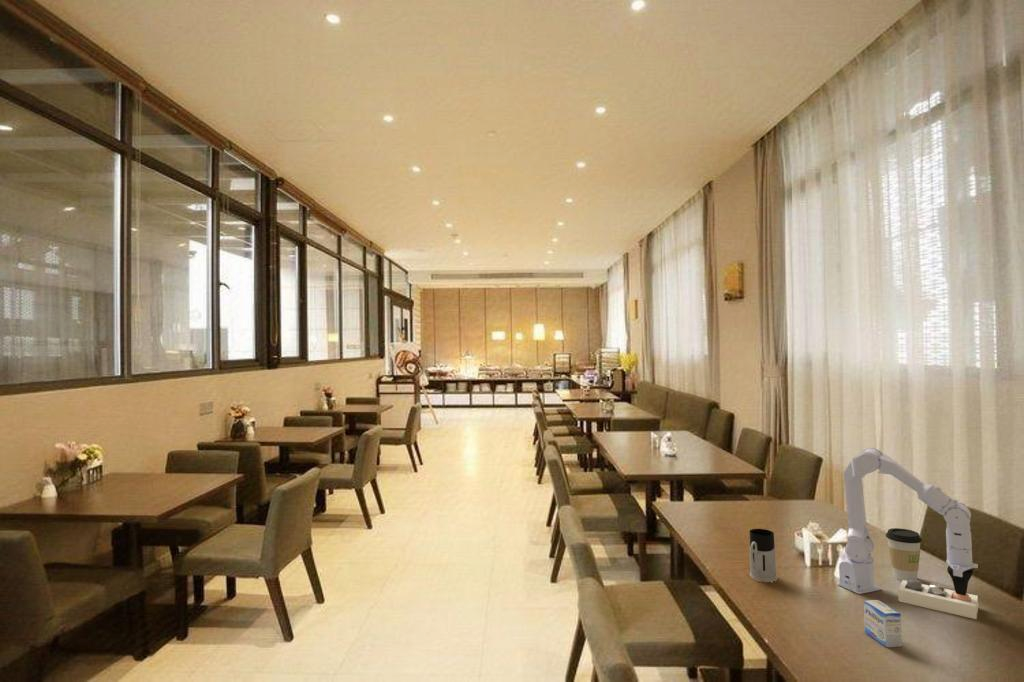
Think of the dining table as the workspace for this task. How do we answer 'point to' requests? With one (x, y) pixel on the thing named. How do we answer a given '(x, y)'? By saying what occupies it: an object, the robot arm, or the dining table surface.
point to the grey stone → (914, 584)
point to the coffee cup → (904, 552)
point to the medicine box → (882, 623)
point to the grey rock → (937, 589)
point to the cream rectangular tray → (939, 601)
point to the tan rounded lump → (961, 597)
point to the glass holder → (762, 555)
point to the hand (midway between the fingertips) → (961, 594)
